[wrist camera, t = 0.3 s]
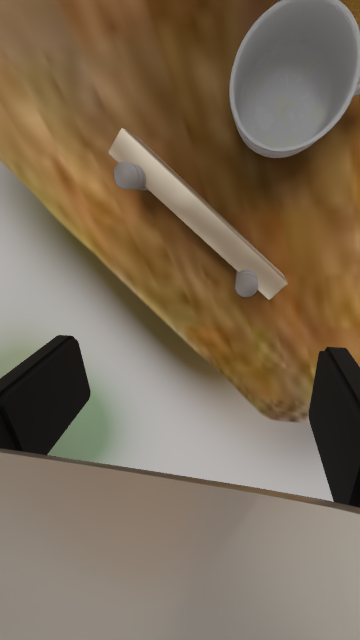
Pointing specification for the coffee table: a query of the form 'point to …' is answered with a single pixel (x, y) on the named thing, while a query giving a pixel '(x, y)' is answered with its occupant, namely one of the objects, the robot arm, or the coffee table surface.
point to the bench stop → (194, 214)
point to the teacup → (295, 75)
